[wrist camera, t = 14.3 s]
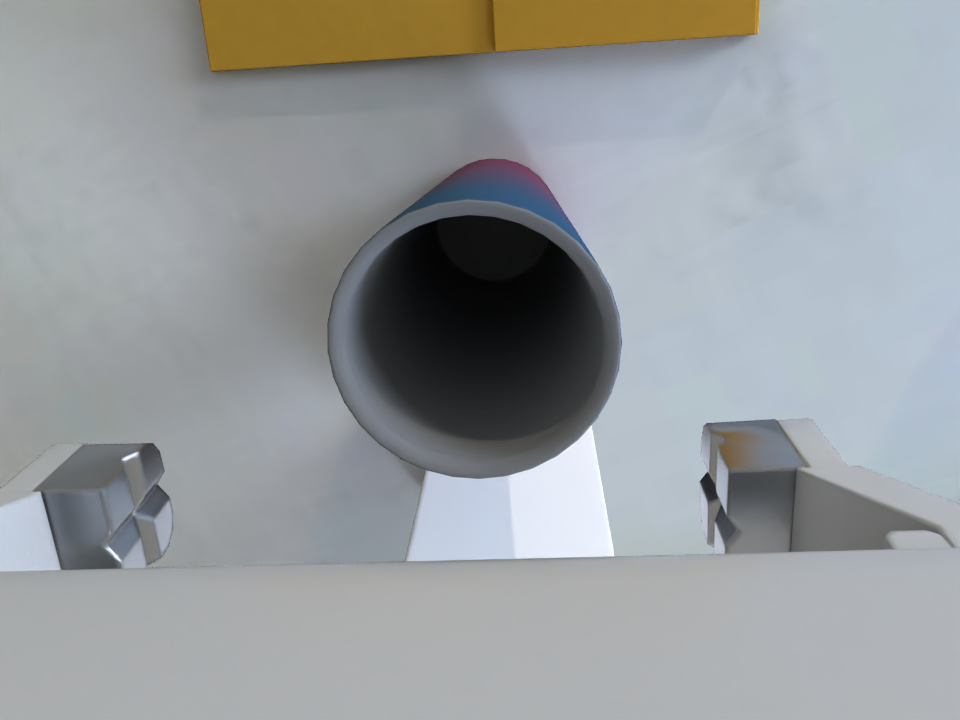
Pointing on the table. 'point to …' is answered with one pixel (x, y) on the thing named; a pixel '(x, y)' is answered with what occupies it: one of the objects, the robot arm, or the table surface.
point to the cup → (476, 328)
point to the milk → (515, 512)
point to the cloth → (449, 27)
